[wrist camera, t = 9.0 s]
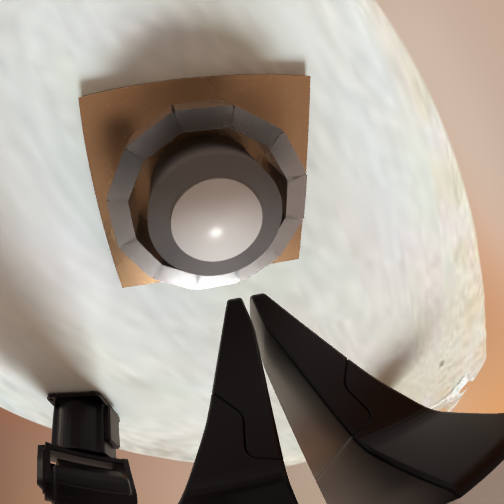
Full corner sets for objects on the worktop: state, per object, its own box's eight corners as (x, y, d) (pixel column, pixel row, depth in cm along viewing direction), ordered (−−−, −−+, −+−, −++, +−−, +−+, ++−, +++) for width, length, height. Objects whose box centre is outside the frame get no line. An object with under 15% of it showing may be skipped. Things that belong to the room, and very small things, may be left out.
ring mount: (122, 281, 19) (119, 318, 16) (81, 96, 12) (61, 104, 10) (295, 253, 22) (315, 284, 19) (305, 75, 15) (336, 79, 12)
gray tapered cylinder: (159, 241, 18) (160, 287, 14) (143, 142, 14) (136, 166, 11) (258, 226, 19) (281, 267, 15) (257, 129, 15) (286, 149, 12)
